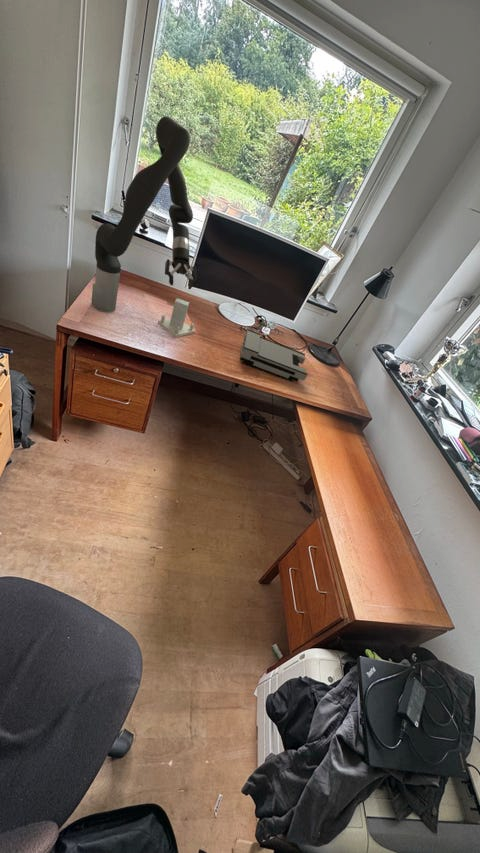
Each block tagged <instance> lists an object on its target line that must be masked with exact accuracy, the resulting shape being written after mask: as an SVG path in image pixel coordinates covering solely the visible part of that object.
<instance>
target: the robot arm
mask: <svg viewBox="0 0 480 853" xmlns="http://www.w3.org/2000/svg"><path fill="white" fill-rule="evenodd" d="M155 136H156V141H157V144H158V148H159V151H160V157H159V158H158V159H157V160H156V161H155V162H153V163H151V164H150V165H148V166H145V167H144V168H142V169H141V170H140V171H138V172H137V173H135V175H134V178H132V181H131V182H130V184H129V186H128V188H127V190H126V194H125V199H124V205H123V206H124V207H123V212H122V215H121V218H120V220H119V222H118V223H117V224H116V227H115V225H113V224H111V223H106V222H105V223H102V224H101V225H100V226H99V227H98V228H97V230H96V234H95V244H94V245H95V246H94V247H95V248H94V251H95V252H94V253H95V254H94V256H95V260H96V267H95V278H94V279H95V280H94V283H92V289H91V301H90V302H91V303H90V304H91V306H93V307H94V308H95V309H96V310H97V311H99V312H105V313H112V312H115V311H116V308H117V300H118V293H119V285H120V284H119V283H120V278H121V270H122V269H121V267H122V265H121V262H120V261H119V258H118V257H120V256H122V255H123V254H125V253H126V251H127V250H128V249H129V248H128V247H129V246H130V244H131V242H132V240H133V237H134V235H135V233H136V231H137V229H138V227H139V225H140V224H141V222H142V220H143V219H144V217H145V215H146V214H147V212H148V210H149V208H151V206H152V204H153V203H154V201H155V200H156V198H157V196H158V194H159V192H160V190H161V189H162V187H163V185H164V184H165V182H166V181H168V186H169V188H168V189H169V194H170V200H171V202H172V204H171V205H170V206H169V209H168V216H169V219H170V222H171V226H172V261H171V260H170V259H169V258H168V259H167V260H165V263H164V266H165V267H164V275H166V276H167V277H168V283H169V284H170V286H173V285H174V274H175V273H176V274H180V275H182V276H183V275H184V276H185V278H187V280H188V283H187V286H188V288H187V289H188V290H191V289H192V288H193V284H194V283H193V282H194V281H196V280H197V278H198V276H197V275H198V274H197V266H196V265H193V266H191V264H190V232H189V231H190V230H189V228H188V227H187V226H186V225H183V224H190V223H191V222H192V221H193V218H194V213H193V212H194V211H193V210H192V207H191V205H190V202H189V200H188V199H189V198H188V192H187V190H188V189H187V183H186V179H185V176H184V173H183V171H182V169H181V166H180V162H181V161H182V159H183V157H184V156H185V155H186V153H187V151H188V149H189V147H190V144H191V143H190V142H191V134H190V132H189V130H188V129H187V128H185V127H184V126H183V125H181V124H180V123H179V122H177V121H176V120H174V119H173V118H171V117H170V116H163V117H161V118H160V119H159V120H158V122H157V125H156V128H155ZM170 267H172V268H173V269H172V270H171V271H170Z"/></svg>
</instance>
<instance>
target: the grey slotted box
mask: <svg viewBox="0 0 480 853" xmlns="http://www.w3.org/2000/svg"><path fill="white" fill-rule="evenodd" d="M239 360H241V361H242V364H243V365H245V366H248V367H251V368H254V369H256V370H259V371H261V372H263V373H266V374H269V375H272V376H274V377H277V378H279V379H283V380H285V381H288V382H290V383H291V382H292V381H295V382H298V381H299V380H300V381H303V382H304V381H305V379H306V378H307V377H308V370H307V369H306V368H304V367H300V365H299V364H301V365H303V364H304V363H305V361H306V354H305V353H303V352H301V351H298V350H296V349H293V348H291V347H288V346H286V345H283V344H280V343H277V342H276V341H273V340H271V339H268V338H265V337H263V336H261V333H259V332H256V331H253V330H251V329H247V330H246V332H245V334H244V338H243V341H242V345H241V349H240V359H239Z"/></svg>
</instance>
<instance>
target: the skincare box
mask: <svg viewBox="0 0 480 853" xmlns="http://www.w3.org/2000/svg"><path fill="white" fill-rule="evenodd" d="M173 303H174V304H173V308H172V312H171V317H170V318H171V320H170V325H171V326H174V327H177V326H178V327H180V329H182V328H183V325H184V323H186V322H185V321H186V317H187V313H188V309H189V305H190V301H186V300H184V299H181V298H179V297H177V298H175V300H174V302H173Z"/></svg>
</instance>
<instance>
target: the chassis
mask: <svg viewBox="0 0 480 853" xmlns="http://www.w3.org/2000/svg"><path fill="white" fill-rule="evenodd" d="M170 320H171V317H170V318H166V315H165V314H162V315H161V317H160V320H158V321H157V324H158V325H160V327H162V328H163V329H164V330H166V331H167V332H168V333H170V334H171V335H172V336H173V337H175V338H179V337H182V336H188V335H193V334H195V331H196V330H195V329H194V325H195V324H194V322H193V323H190V325H188V324H187V323H186V322H184V325H183V328H182V329H180V327H178V326H177V327H174V326H171V325H170Z"/></svg>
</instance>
